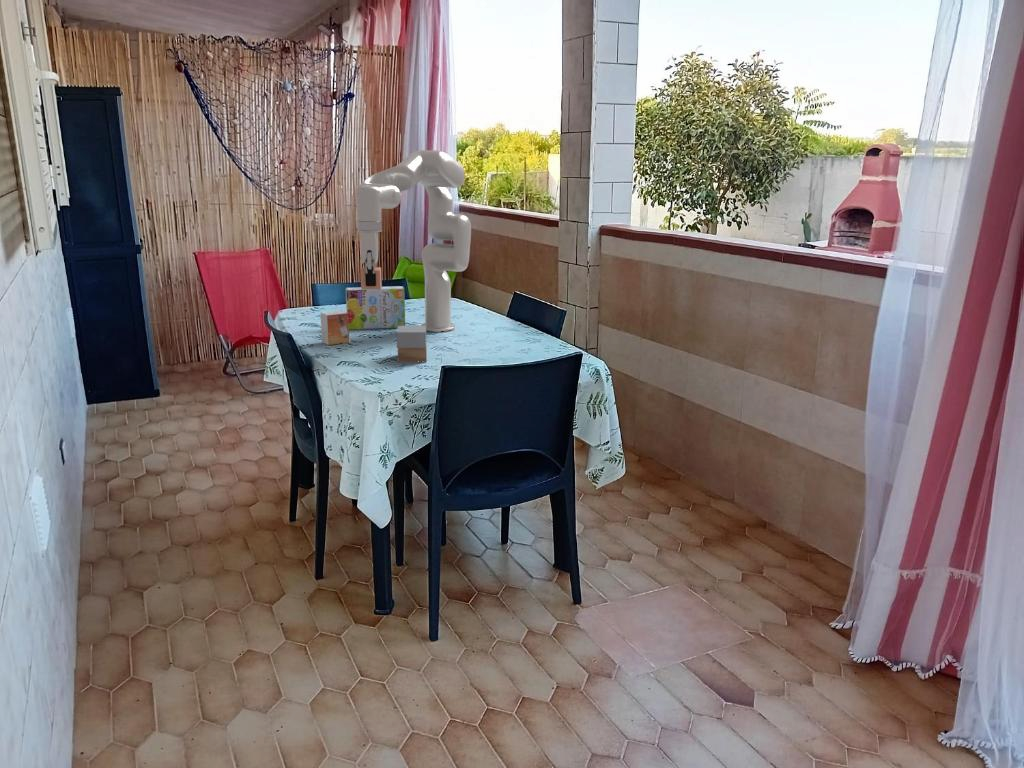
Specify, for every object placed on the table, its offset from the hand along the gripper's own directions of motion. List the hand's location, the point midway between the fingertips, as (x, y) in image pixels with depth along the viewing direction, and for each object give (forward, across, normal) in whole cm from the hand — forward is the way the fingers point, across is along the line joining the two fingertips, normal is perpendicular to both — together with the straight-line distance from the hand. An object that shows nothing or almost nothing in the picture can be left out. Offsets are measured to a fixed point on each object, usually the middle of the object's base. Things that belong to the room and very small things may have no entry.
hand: (371, 283), depth 246 cm
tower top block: (+19, +5, +12) cm, 23 cm away
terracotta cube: (+1, 0, 0) cm, 1 cm away
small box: (+24, -17, -14) cm, 32 cm away
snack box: (+24, -40, -2) cm, 47 cm away
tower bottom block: (+24, +5, +12) cm, 27 cm away
